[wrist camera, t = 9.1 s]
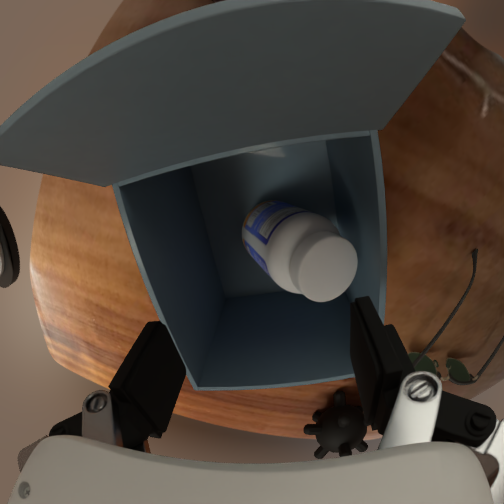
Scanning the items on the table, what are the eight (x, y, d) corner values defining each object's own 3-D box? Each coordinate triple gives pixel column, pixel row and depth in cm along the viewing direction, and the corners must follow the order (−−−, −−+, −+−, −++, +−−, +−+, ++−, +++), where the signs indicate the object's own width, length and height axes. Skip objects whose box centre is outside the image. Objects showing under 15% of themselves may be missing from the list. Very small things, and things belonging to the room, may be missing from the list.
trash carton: (186, 159, 23) (110, 181, 12) (327, 132, 21) (376, 126, 10) (223, 299, 29) (194, 390, 18) (344, 282, 27) (377, 372, 16)
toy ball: (291, 442, 36) (284, 424, 28) (334, 397, 40) (338, 367, 33) (341, 477, 29) (350, 472, 21) (382, 428, 33) (401, 405, 26)
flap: (104, 187, 11) (104, 179, 11) (382, 130, 9) (380, 121, 9) (-24, 161, 4) (-22, 149, 4) (467, 20, 2) (457, 7, 2)
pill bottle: (295, 257, 25) (359, 306, 16) (239, 262, 24) (283, 321, 15) (300, 199, 24) (374, 223, 15) (240, 198, 22) (292, 224, 13)
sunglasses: (519, 275, 24) (538, 292, 20) (461, 364, 31) (473, 385, 26) (459, 238, 24) (484, 256, 19) (391, 354, 30) (402, 381, 26)
